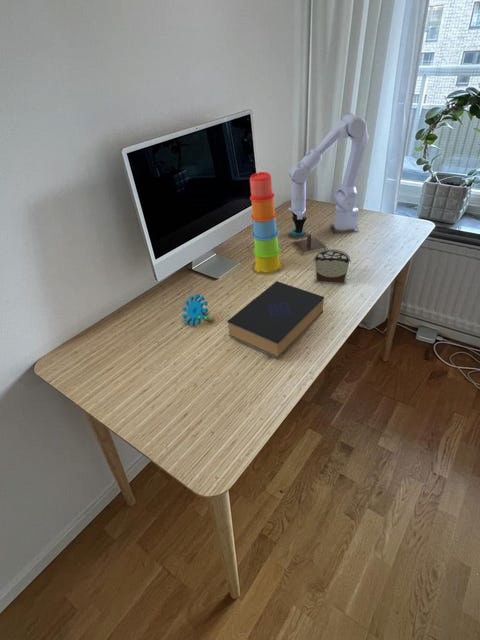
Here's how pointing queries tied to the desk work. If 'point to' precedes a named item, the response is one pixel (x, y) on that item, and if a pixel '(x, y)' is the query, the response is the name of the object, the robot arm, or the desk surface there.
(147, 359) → the desk surface
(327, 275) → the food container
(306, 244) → the ring toss
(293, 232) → the ring
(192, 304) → the blue knobbed toy
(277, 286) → the book
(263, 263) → the stacking cups
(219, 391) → the desk surface
